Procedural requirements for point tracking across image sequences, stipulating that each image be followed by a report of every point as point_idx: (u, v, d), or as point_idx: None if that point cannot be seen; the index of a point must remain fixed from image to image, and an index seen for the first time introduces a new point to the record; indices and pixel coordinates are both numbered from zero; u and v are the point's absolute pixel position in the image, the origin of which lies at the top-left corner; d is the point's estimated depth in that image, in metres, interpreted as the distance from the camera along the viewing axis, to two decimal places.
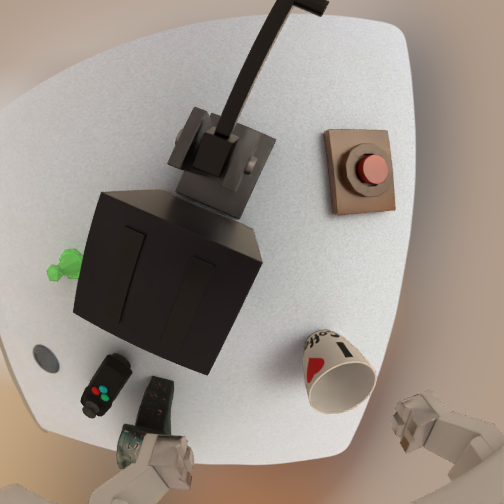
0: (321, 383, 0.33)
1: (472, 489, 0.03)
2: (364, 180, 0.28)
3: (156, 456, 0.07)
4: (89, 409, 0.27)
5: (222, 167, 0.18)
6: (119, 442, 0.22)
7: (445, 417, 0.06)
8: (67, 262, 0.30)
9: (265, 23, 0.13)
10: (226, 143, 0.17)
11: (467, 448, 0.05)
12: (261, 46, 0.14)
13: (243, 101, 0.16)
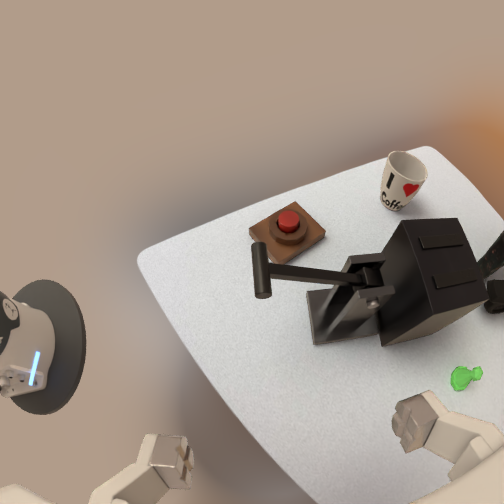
0: None
1: (472, 489, 0.03)
2: (298, 223, 0.43)
3: (156, 456, 0.07)
4: None
5: (375, 269, 0.29)
6: None
7: (445, 417, 0.06)
8: (463, 376, 0.30)
9: (293, 275, 0.25)
10: (365, 270, 0.28)
11: (467, 448, 0.05)
12: (308, 272, 0.26)
13: (340, 272, 0.27)
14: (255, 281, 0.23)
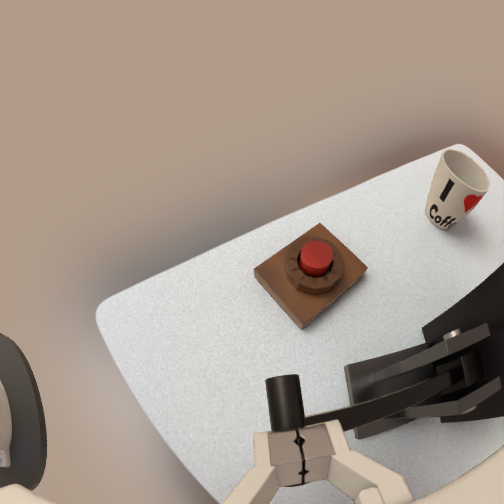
0: None
1: (472, 489, 0.03)
2: None
3: (276, 454, 0.07)
4: None
5: (473, 351, 0.13)
6: None
7: (342, 455, 0.06)
8: None
9: (355, 426, 0.10)
10: (463, 361, 0.12)
11: (357, 498, 0.05)
12: (382, 407, 0.10)
13: (430, 379, 0.12)
14: None
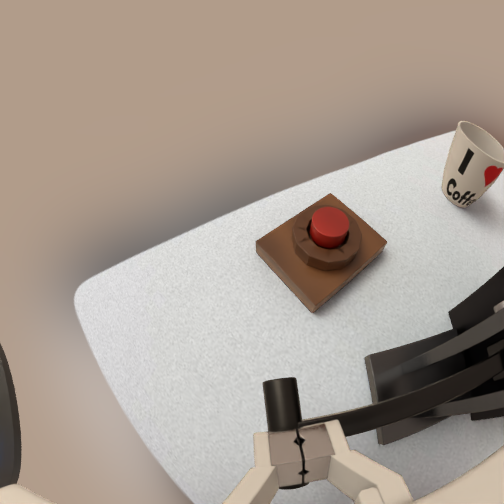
0: None
1: (472, 489, 0.03)
2: None
3: (276, 454, 0.07)
4: None
5: None
6: None
7: (342, 456, 0.06)
8: None
9: (359, 431, 0.09)
10: None
11: (357, 498, 0.05)
12: (397, 409, 0.09)
13: (468, 369, 0.09)
14: None
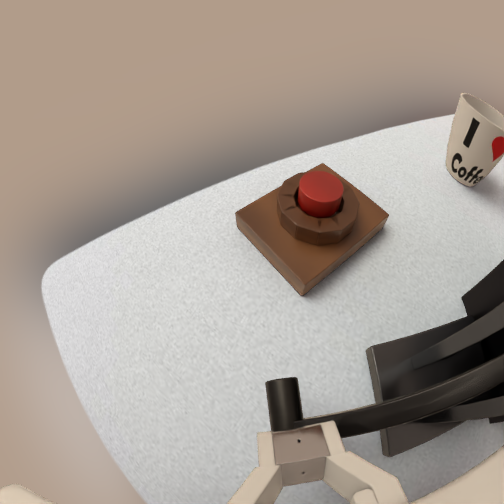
0: None
1: (472, 489, 0.03)
2: None
3: (280, 454, 0.07)
4: None
5: None
6: None
7: (337, 457, 0.06)
8: None
9: (354, 433, 0.08)
10: None
11: (352, 499, 0.05)
12: (396, 411, 0.08)
13: (489, 362, 0.06)
14: None
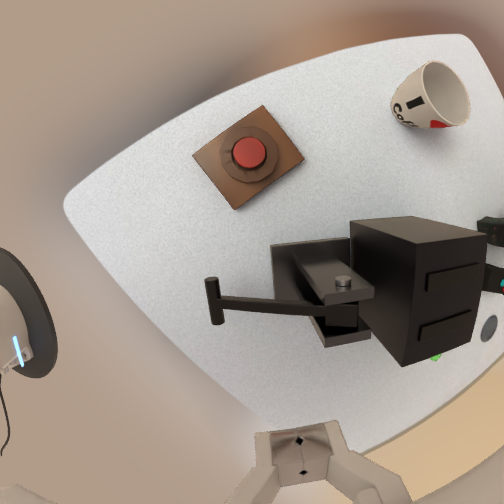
0: (440, 101, 0.26)
1: (472, 489, 0.03)
2: None
3: (278, 454, 0.07)
4: None
5: (348, 304, 0.22)
6: None
7: (340, 456, 0.06)
8: None
9: (238, 309, 0.27)
10: (327, 308, 0.22)
11: (356, 498, 0.05)
12: (254, 306, 0.26)
13: (295, 304, 0.24)
14: None
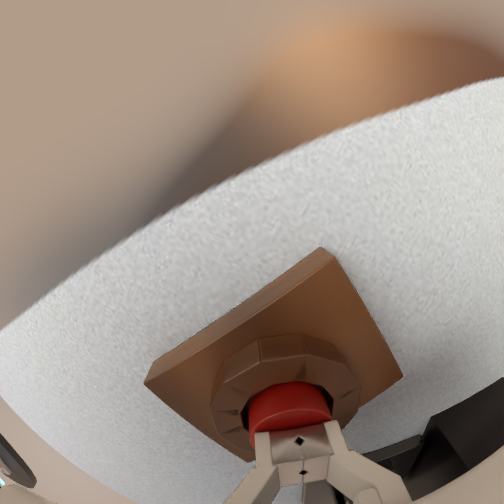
0: None
1: (472, 489, 0.03)
2: None
3: (278, 454, 0.07)
4: None
5: None
6: None
7: (340, 456, 0.06)
8: None
9: None
10: None
11: (355, 498, 0.05)
12: None
13: None
14: None
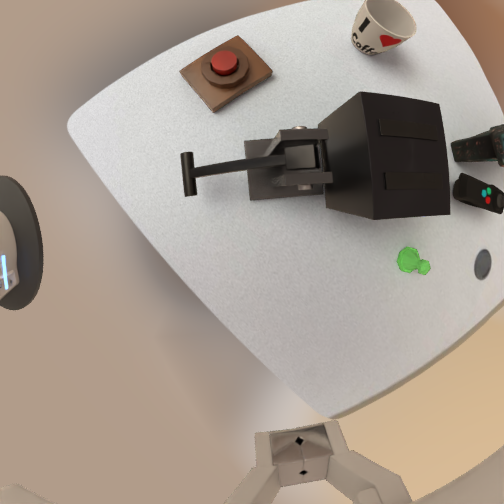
0: (393, 31, 0.27)
1: (472, 489, 0.03)
2: (236, 64, 0.29)
3: (278, 454, 0.07)
4: (503, 201, 0.28)
5: (304, 145, 0.23)
6: None
7: (340, 456, 0.06)
8: (410, 261, 0.37)
9: (208, 174, 0.28)
10: (285, 151, 0.24)
11: (355, 498, 0.05)
12: (222, 167, 0.27)
13: (258, 157, 0.26)
14: None
